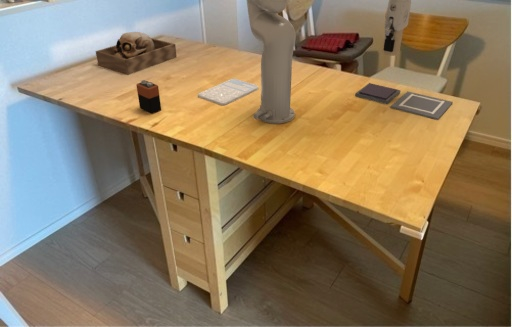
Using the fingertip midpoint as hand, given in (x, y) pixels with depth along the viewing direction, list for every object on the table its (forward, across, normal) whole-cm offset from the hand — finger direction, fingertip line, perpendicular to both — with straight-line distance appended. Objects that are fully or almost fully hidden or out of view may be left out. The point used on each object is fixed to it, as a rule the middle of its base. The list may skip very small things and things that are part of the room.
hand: (391, 48), depth 146 cm
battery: (+18, -56, +60) cm, 84 cm away
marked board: (+17, 0, -14) cm, 22 cm away
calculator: (+18, -29, +48) cm, 59 cm away
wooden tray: (+18, -24, +103) cm, 107 cm away
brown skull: (+18, -27, +103) cm, 108 cm away
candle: (+2, 0, 0) cm, 2 cm away
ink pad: (+17, 0, +2) cm, 18 cm away
